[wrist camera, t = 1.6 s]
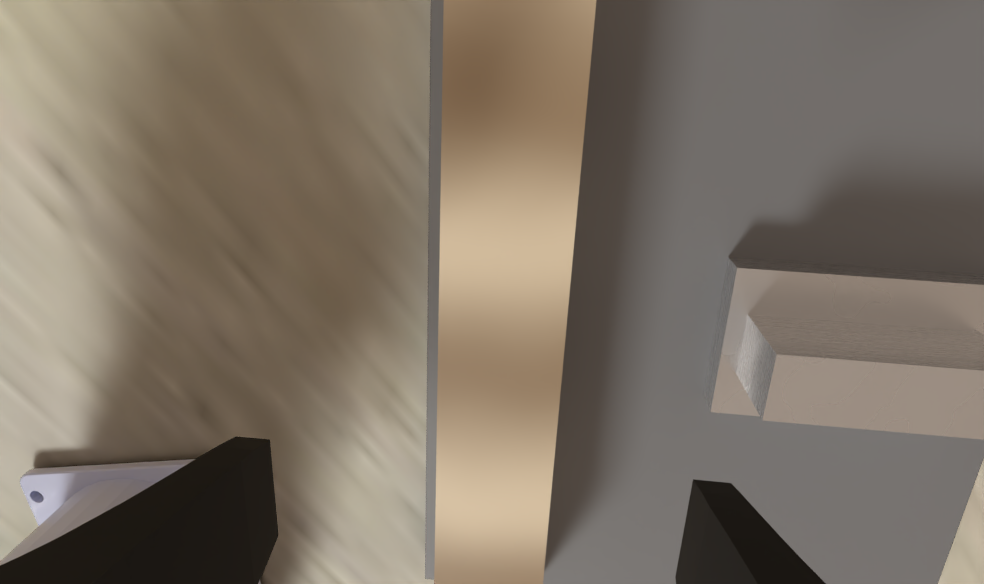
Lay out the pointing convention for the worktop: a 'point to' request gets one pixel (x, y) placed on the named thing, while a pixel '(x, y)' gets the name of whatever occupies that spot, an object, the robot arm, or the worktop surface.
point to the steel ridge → (850, 347)
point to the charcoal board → (758, 235)
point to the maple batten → (505, 275)
